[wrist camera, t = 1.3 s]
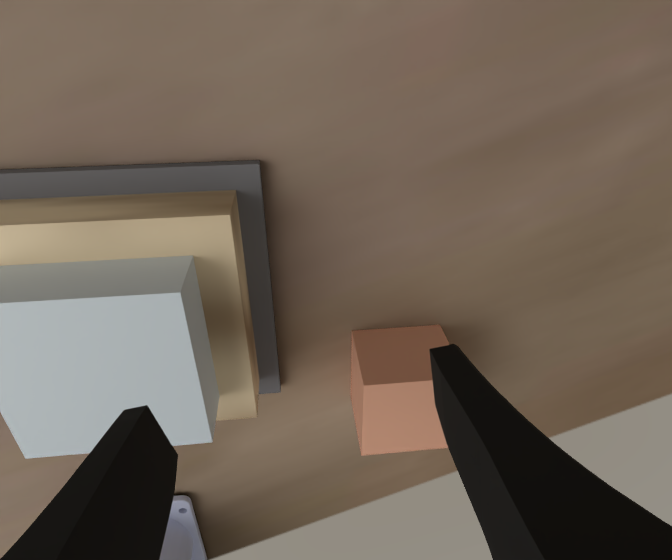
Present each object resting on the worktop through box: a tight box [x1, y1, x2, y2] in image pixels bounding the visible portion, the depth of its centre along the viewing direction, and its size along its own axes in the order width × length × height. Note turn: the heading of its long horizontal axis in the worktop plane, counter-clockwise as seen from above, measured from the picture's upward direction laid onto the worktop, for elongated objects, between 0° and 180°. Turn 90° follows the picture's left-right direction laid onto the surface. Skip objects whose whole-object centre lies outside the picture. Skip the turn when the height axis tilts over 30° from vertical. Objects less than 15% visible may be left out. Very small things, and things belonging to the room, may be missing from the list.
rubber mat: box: [0, 160, 281, 394], centre depth 21 cm, size 12×12×1 cm
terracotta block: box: [351, 325, 450, 456], centre depth 23 cm, size 4×4×4 cm
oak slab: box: [0, 190, 259, 421], centre depth 19 cm, size 10×10×2 cm
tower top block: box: [0, 255, 220, 459], centre depth 17 cm, size 7×7×2 cm
